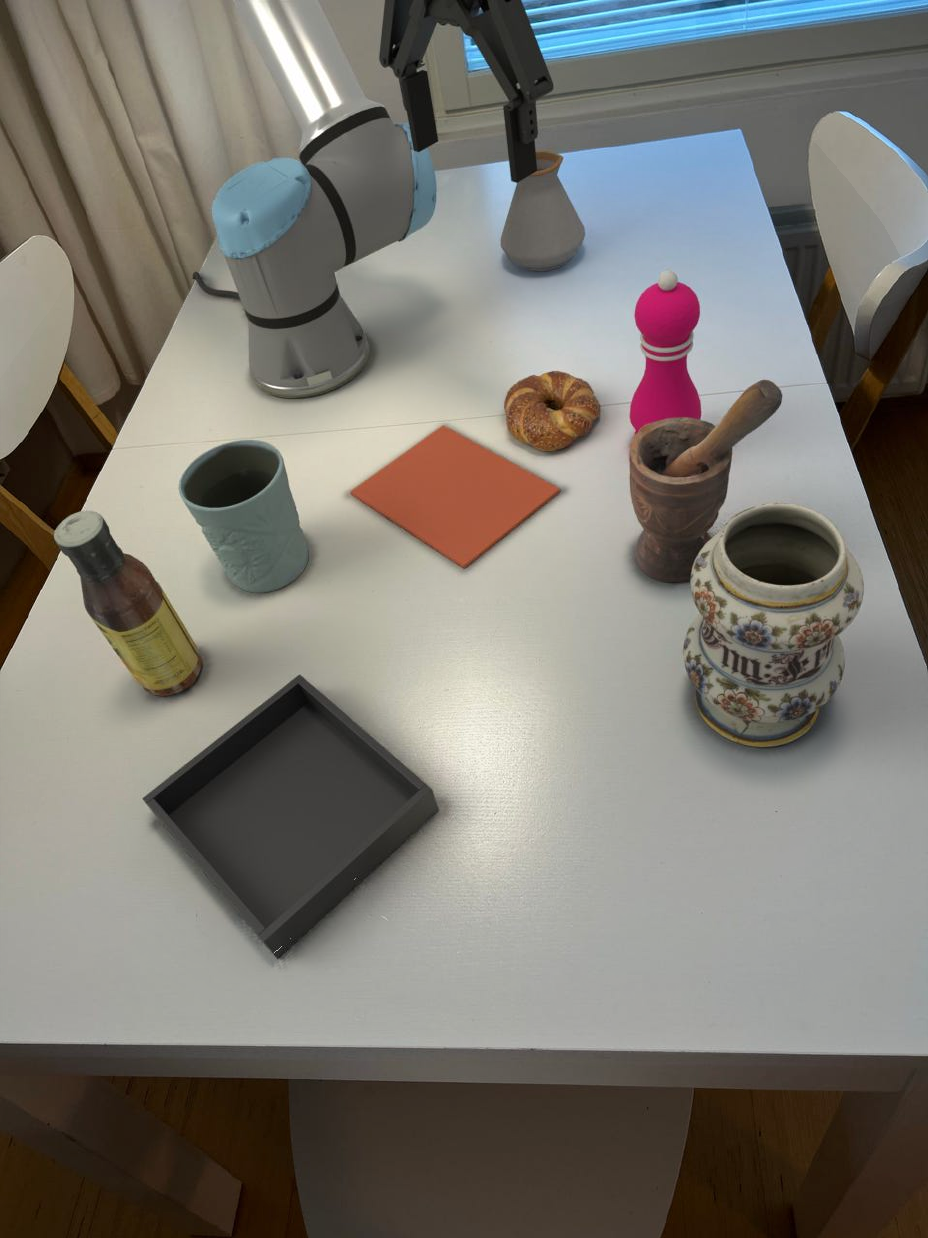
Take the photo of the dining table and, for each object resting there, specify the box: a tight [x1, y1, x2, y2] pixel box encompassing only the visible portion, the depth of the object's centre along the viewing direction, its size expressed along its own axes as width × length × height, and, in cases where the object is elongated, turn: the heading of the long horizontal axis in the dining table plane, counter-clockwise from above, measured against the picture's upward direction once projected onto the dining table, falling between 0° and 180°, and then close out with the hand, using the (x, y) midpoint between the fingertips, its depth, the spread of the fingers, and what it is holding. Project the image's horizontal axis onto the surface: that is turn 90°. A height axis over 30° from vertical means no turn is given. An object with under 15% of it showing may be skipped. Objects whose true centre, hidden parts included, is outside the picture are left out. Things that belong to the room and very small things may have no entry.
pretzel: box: [503, 370, 602, 452], centre depth 104 cm, size 12×11×4 cm
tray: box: [142, 674, 440, 960], centre depth 76 cm, size 17×16×3 cm
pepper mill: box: [629, 269, 702, 435], centre depth 92 cm, size 7×7×20 cm
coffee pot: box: [499, 150, 586, 272], centre depth 126 cm, size 21×12×15 cm, turn 8°
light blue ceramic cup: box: [178, 439, 310, 594], centre depth 93 cm, size 10×10×12 cm
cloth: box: [349, 425, 561, 569], centre depth 100 cm, size 18×14×1 cm
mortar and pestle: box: [628, 379, 783, 583], centre depth 82 cm, size 12×9×20 cm
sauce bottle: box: [53, 510, 203, 697], centre depth 81 cm, size 6×6×20 cm
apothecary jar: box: [682, 502, 865, 748], centre depth 71 cm, size 12×12×18 cm
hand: (473, 160), depth 90 cm, fingers open, 13 cm apart
